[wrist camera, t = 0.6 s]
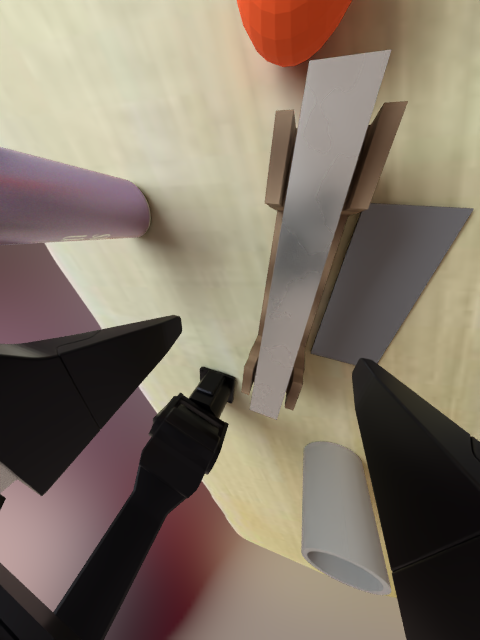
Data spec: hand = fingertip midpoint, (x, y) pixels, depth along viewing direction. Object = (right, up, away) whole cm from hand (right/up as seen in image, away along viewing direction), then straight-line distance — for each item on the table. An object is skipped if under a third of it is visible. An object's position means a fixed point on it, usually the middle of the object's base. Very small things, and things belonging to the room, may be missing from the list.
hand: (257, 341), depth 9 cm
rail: (+4, +3, +7) cm, 8 cm away
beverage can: (-14, +15, +13) cm, 24 cm away
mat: (+12, +3, +9) cm, 15 cm away
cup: (+15, -23, +22) cm, 35 cm away
